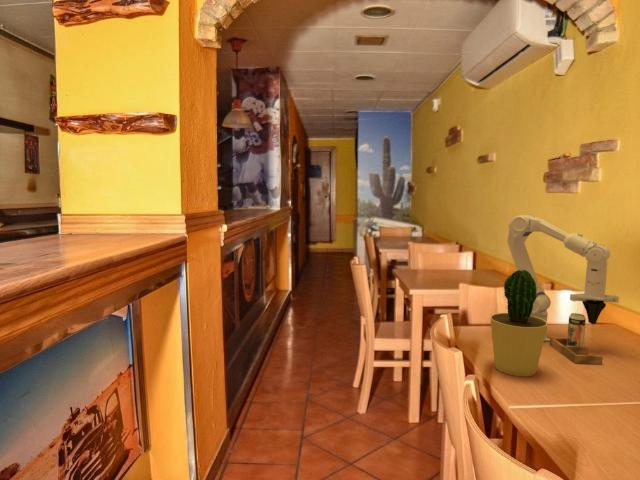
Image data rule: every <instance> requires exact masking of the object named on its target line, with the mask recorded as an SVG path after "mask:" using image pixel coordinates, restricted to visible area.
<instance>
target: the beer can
mask: <svg viewBox="0 0 640 480" xmlns="http://www.w3.org/2000/svg"><path fill="white" fill-rule="evenodd" d="M586 319H587V318H586V317H585V315H584V314H582V313H576V312H575V313H574V312H573V313H572V312H571V313H570V315H569V316H568V325H567V346H585V345H584V344H585V335H586V333H585V332H586V322H587V321H586Z"/></svg>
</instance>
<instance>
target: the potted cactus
mask: <svg viewBox="0 0 640 480" xmlns="http://www.w3.org/2000/svg"><path fill="white" fill-rule="evenodd" d="M529 271H530V270H529ZM507 274H508V276H507V278H506V279H505V280H503V287H504V288H503V289H502V291H504V293H503V297H504V299H505V303H506V304H507V305H506V307H505V309H507V312H497V313H493V314H491V315H490V316H489V318H490V328H491V329H490V330H491V340H492V347H493V348H492V349H493V361H494V368H495V369H496V370H498V371H499V372H501V373H504V374H506V375H510V376H515V377H531V376H534V375H537V374H536V373H537V370H538V367H539V363H540V360H541V359H540V358H541V355H542V349H543V346H544V342H545V341H544V338H545V334H546V335H547V330H548V328H547V327H548V325H549V323H548V320H547V321H545V320H543V319H541V318H538V317H535V316H531V313H532V308H533V304H534V303H536V302H534V301H535V300H536V298H537V297H538V296H537V295H536V294H538V293H537V292H536V291H537V289H536V288H539V287H538V286H537V287H536V283H537V281H538V279H537V281H536V282H535V281H534V280H535V279H533V278H532V275H531V274H530V273H529V272H528V271H526V269H525V270H523V269H522V270H521V271H520V270H518V271H517V270H513V272H512V274H509V273H507ZM538 282H539V281H538ZM535 310H536V309H535ZM532 314H533V313H532Z"/></svg>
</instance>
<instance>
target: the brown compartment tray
mask: <svg viewBox="0 0 640 480" xmlns="http://www.w3.org/2000/svg"><path fill="white" fill-rule="evenodd" d="M549 339H550V341H549V346H550V347H551V348H553V349H555V350H556V352H557V351H558V352H559V353H560V354H561V355H562V356H564V357H565V358H566V359H568V360H569V361H570V362H572V363H573V364H575V365H578V364H579V365H603V359H604V356H602V355H599V354H597V355H595V354H589V347H588V346H585V345H584V346H567V338H564V337H562V338H561V337H550V338H549Z"/></svg>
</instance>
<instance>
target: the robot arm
mask: <svg viewBox="0 0 640 480" xmlns="http://www.w3.org/2000/svg"><path fill="white" fill-rule="evenodd" d="M534 232H536V233H537V232H538V233H539V232H541V233H543V234H545V235H547V236H549V237H551V238H554V239H555V240H558V241H560V242H563V245H564V248H566V249H568V250H570V251H571V252H573V253H575V254H577V255H578V256H581V257H583V258H584V257H585V260H586V264H587V265H586V270H585V272H586V273H585V283H584V293H576V294H575V293H574V294H573V293H572V294H571V293H570V294H569V300H570V301H571V302H581V303H582V305H583V307H584V309H585V312H586V315H587V320H588V323H589V324H592V325H596V324H597V322H598V319H599V316H600V315H601V313H602V311H603V310H604V309H605V308H606V306H607V305H606V302H607V303H609V302H610V303H619V302H620V296H619V295H615V294H613V295H612V294H606V284H607V275H608V260H609V259H610V257H611V250H610V249H609V248H608V247H607V246H606V245H605V244H602V243H601V244H599V243H598V242H597V241H596V240H591V239H588V238H587V237H585V236H584V234H583V233H580V232H578V233H577V232H572V233H568V232H567V231H564V230H563V229H561V228H559V227H557V226H556V225H553V224H552V223H550V222H548V221H547V220H544V219H542V218H541V217H537V216H535V215H534V214H525V215H523V214H522V215H521V214H518V215H516V216H514V217H512V219H511V220H510V222H509V224H508V235H507V245H508V248H509V251H510V253H511V256H512V259H513V262H514V265H515V268H516V271H518V270H520V271H521V270H522V269H523V270H525V269H526V271H528V272H529V273H530V274H531V275H532V278H533V279H535V280H534V281H535V282H536V281H537V280H538V278H537V274H536V273H535V269H534V266H533V264H532V261H531V258H530V255H529V253H528V250H527V247H526V245H525V244H526V243H525V242H526V241H527V239H528V238H529V236H530V235H531V234H532V233H534ZM529 270H530V271H529ZM537 286H538V287H539V288H536V289H537V291H536V292H537V293H538V294H536V295H537V296H538V297H537V298H536V300H535V301H534V302H536V303H534V304H533V308H532V313H533V314H532V313H531V316H535V317H538V318H541V319H543V320H545V321H547V322H548V315H549V314H548V309H549V308H550V307H551V303H552V302H551V298H550V297H549V296H548V295H547V293H546V291H545V290H544V288H543V286H541V284H540V283H539V281H537V283H536V287H537ZM535 309H536V310H535ZM544 342H550V338H549V337H548V336H547V333H546V334H545V338H544Z"/></svg>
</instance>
